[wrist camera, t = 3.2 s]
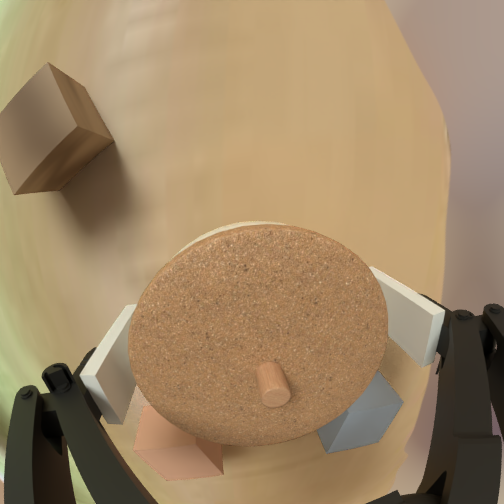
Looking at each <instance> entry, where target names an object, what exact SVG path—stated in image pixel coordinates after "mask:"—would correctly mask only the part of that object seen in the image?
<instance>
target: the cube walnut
mask: <svg viewBox="0 0 504 504" xmlns="http://www.w3.org/2000/svg"><path fill="white" fill-rule="evenodd" d="M112 142H114V139H113V137H112V136H111V134H110V132H109V130H108V129H107V127H106V125H105V123H104V122H103V120H102V118H101V116H100V115H99V113H98V111H97V109H96V107H95V106H94V104H93V102H92V100H91V98H90V96H89V95H88V93H87V91H86V89H85V87H84V86H82V85H81V84H79V83H78V82H76V81H75V80H74V79H72V78H71V77H69V76H68V75H66V74H65V73H63V72H62V71H60V70H59V69H57V68H56V67H54V66H53V65H51V64H50V63H48V62H47V63H46V64H45V65H44V66H43V67H42V68H41V69H40V70H39V71H38V72H37V73H36V74H35V75H34V76H33V77H32V78H31V79H30V80H29V81H28V82H27V83H26V84H25V85H24V86H23V87H22V88H21V90H20V91H19V92H18V93H17V94H16V95H15V96H14V97H13V99H12V100H11V101H10V102H9V103H8V105H7V106H6V107H5V108H4V110H3V111H2V112H1V113H0V162H1V165H2V167H3V170H4V173H5V175H6V178H7V180H8V183H9V185H10V187H11V190H12V192H13V194H14V195H19V194H27V193H37V192H47V191H59V190H60V189H61V188H62V187H63V186H64V185H65V184H66V183H67V182H68V181H69V180H71V179H72V178H73V177H74V176H75V175H76V174H77V173H78V172H79V171H80V170H81V169H82V168H83V167H84V166H85V165H87V164H88V163H89V162H90V161H91V160H92V159H93V158H95V157H96V156H97V155H98V154H99V153H100V152H102V151H103V150H104V149H105V148H106V147H108V146H109V145H110V144H111V143H112Z"/></svg>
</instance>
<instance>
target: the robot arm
mask: <svg viewBox="0 0 504 504" xmlns="http://www.w3.org/2000/svg"><path fill="white" fill-rule="evenodd" d="M369 268H370V270H371V271H372V273H373V274H374V276H375V278H376V279H377V281H378V282H379V284H380V286H381V289H382V292H383V294H384V297H385V300H386V305H387V311H388V336H389V337H390V338H391V339H393V340H394V341H395V342H396V343H397V344H398V345H399V346H400V347H401V348H402V349H403V350H404V351H405V352H406V353H407V354H408V355H409V356H410V357H411V358H412V359H413V360H414V361H415V362H416V363H417V364H418V365H419V366H420V367H421V368H422V367H425V366H427V365H429V364H431V363H433V362H434V359H435V355H436V351H437V352H438V353H439V354H440V355H441V357H440V361H439V365H438V368H437V371H436V374H438V372H439V380H438V394H437V404H436V414H435V421H434V428H433V434H432V440H431V446H430V451H429V455H428V460H427V464H426V468H425V472H424V476H423V479H422V482H421V484H420V486H419V488H418V490H417V492H416V493H415V494H407V495H401V496H400V494H399V492H398V490H396V491H394V492H392V493H390V494H387V495H385V496H383V497H380V498H378V499H376V500H373V501H371V502H368V503H366V504H497V502H498V496H499V488H500V476H501V458H502V442H501V437H500V436H499V435H493V434H492V415H491V403H492V406H493V408H494V411H495V414H496V417H497V420H498V423H499V427H500V430H501V434H502V437H503V441H504V308H503V307H502V306H500V305H498V304H488V305H486V306H485V307H484V311H483V315H479V316H474V314H473V313H471V312H469V311H467V310H455V311H453V312H452V311H450V310H449V309H447V308H445V307H444V306H442V305H441V304H439V303H437V302H436V301H434V300H432V299H431V298H429V297H428V296H426V295H423V294H419V293H416V292H415V291H413V290H411V289H410V288H408V287H406V286H405V285H403V284H401V283H400V282H398V281H396V280H395V279H393V278H391V277H390V276H388V275H386V274H385V273H383V272H381V271H379V270H378V269H376V268H374V267H369ZM136 306H137V304H133V305H126V307H125V308H124V309H123V311H122V312H121V314H120V315H119V316H118V318H117V319H116V321H115V322H114V324H113V325H112V326H111V328H110V329H109V331H108V332H107V334H106V335H105V337H104V338H103V340H102V341H101V343H100V344H99V346H98V347H97V348H93V349H92V350H91V351H89V352H88V353H87V354H86V356H85V357H84V359H83V361H82V362H81V363H80V365H79V366H78V368H77V369H76V371H75V372H74V374H73V375H72V374H71V372H70V370H69V368H68V366H67V365H66V364H64V363H56V364H53V365H51V366H49V367H47V368H46V369H45V370H44V371H43V373H42V379H43V381H44V382H45V384H46V386H47V387H48V389H49V391H50V393H44V394H40V392H39V390H38V389H37V388H36V386H33V385H28V386H24V387H22V388H21V389H20V390H19V391H18V392H17V394H16V396H15V401H14V405H13V410H12V415H11V420H10V426H9V432H8V440H7V448H6V458H5V473H4V504H76V501H75V496H74V491H73V486H72V480H71V473H70V466H69V458H68V448H67V444H68V447H69V449H70V452H71V454H72V457H73V459H74V461H75V463H76V466H77V468H78V470H79V472H80V474H81V476H82V478H83V480H84V482H85V484H86V486H87V488H88V490H89V492H90V494H91V496H92V498H93V499H94V501H95V503H96V504H158V503H157V502H156V500H155V499H154V498H153V497H152V496H151V494H150V493H149V492H148V491H147V490H146V488H145V487H144V486H143V485H142V483H141V482H140V481H139V480H138V478H137V477H136V476H135V474H134V473H133V472H132V470H131V469H130V467H129V466H128V465H127V463H126V462H125V460H124V459H123V457H122V456H121V454H120V453H119V451H118V450H117V448H116V447H115V445H114V444H113V442H112V441H111V439H110V437H109V436H108V434H107V432H106V431H105V429H104V427H103V426H102V424H101V423H100V421H99V420H100V418H101V415H103V417H104V419H105V420H106V422H107V423H109V424H122V425H123V422H124V419H125V416H126V413H127V410H128V407H129V404H130V401H131V398H132V395H133V392H134V390H135V387H136V384H137V383H136V381H135V378H134V375H133V373H132V370H131V367H130V361H129V355H128V332H129V328H130V324H131V320H132V315H133V313H134V310H135V308H136ZM496 344H497V349H495V347H496Z"/></svg>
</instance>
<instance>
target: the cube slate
mask: <svg viewBox="0 0 504 504" xmlns="http://www.w3.org/2000/svg"><path fill="white" fill-rule="evenodd" d="M402 404H403V400H402V399H401V398H400V397H399V395H398V394H397V393H396V392H395V390H394V389H393V388H392V387H391V386H390V384H389V383H388V382H387V381H386V379H385V378H384V377H383V376H382V375H381V373H380V372H379V371H378V370H377V372H376V374H375V376H374V378H373V379H372V381H371V382H370V384H369V385H368V387H367V388H366V390H365V391H364V392H363V394H362V395H361V396H360V397H359V398H358V399H357V400H356V401H355V402H354V403H353V404H352V405H351V406H350V407H349V408H348V409H347V410H346V411H344V412H343V413H342V414H341V415H340V416H338V417H337V418H335V419H334V420H332V421H331V422H329V423H328V424H326V425H324V426H323V427H321V428H319V429H317V432H318V435H319V437H320V439H321V442H322V444H323V447H324V449H325V451H326V454H328V453H333V452H339V451H344V450H348V449H353V448H357V447H362V446H366V445H370V444H373V443H377V442H379V440H380V439H381V437H382V436H383V435H384V433H385V431H386V430H387V428H388V427H389V425H390V424H391V422H392V421H393V419H394V417H395V416H396V414H397V412H398V411H399V409H400V407H401V406H402Z"/></svg>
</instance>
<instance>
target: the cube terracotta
mask: <svg viewBox="0 0 504 504" xmlns="http://www.w3.org/2000/svg"><path fill="white" fill-rule="evenodd" d="M133 451H134V452H135V453H136V454H137V455H138V456H139V457H140V458H141V459H142V460H144V461H145V462H146V463H147V464H148V465H149V466H150V467H151V468H152V469H154V470H155V471H156V472H157V473H158V474H159V475H161V476H162V477H163V478H164V479H165V480H167V481H171V480H185V479H196V478H204V477H212V476H219V475H224V472H223V459H222V445H221V444H220V443H214V442H211V441H207V440H204V439H201V438H198V437H196V436H193V435H191V434H189V433H187V432H184V431H182V430H181V429H179V428H178V427H176V426H175V425H173V424H171V423H170V422H169V421H167V420H166V419H165V418H164V417H162V416H161V415H160V414H159V413H158V412H157V411H156V410H155V409H154V408H153V407H152V406H151V405H150V406H144V407H143V410H142V414H141V418H140V422H139V426H138V430H137V434H136V439H135V443H134V447H133Z"/></svg>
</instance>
